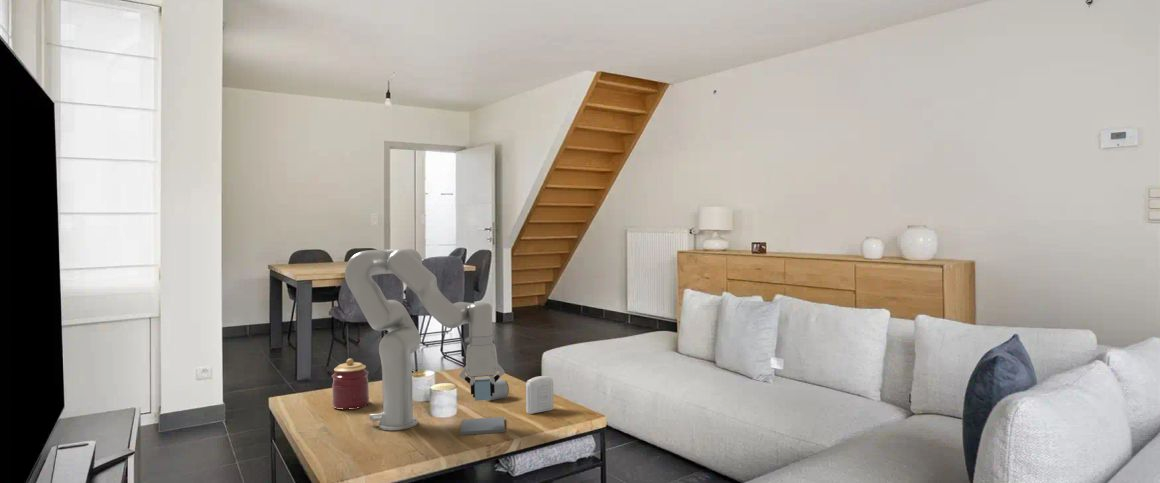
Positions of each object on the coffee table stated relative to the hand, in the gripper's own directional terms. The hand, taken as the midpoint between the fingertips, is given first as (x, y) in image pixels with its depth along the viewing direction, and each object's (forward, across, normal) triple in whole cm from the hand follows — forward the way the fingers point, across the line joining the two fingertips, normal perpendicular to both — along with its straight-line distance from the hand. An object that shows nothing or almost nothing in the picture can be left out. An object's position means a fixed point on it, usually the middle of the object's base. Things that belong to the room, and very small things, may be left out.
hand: (482, 395), depth 205 cm
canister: (+10, -49, +36) cm, 62 cm away
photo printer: (+11, +20, +14) cm, 27 cm away
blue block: (+1, 0, 0) cm, 1 cm away
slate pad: (+11, 0, 0) cm, 11 cm away
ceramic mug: (+11, +4, +35) cm, 36 cm away
